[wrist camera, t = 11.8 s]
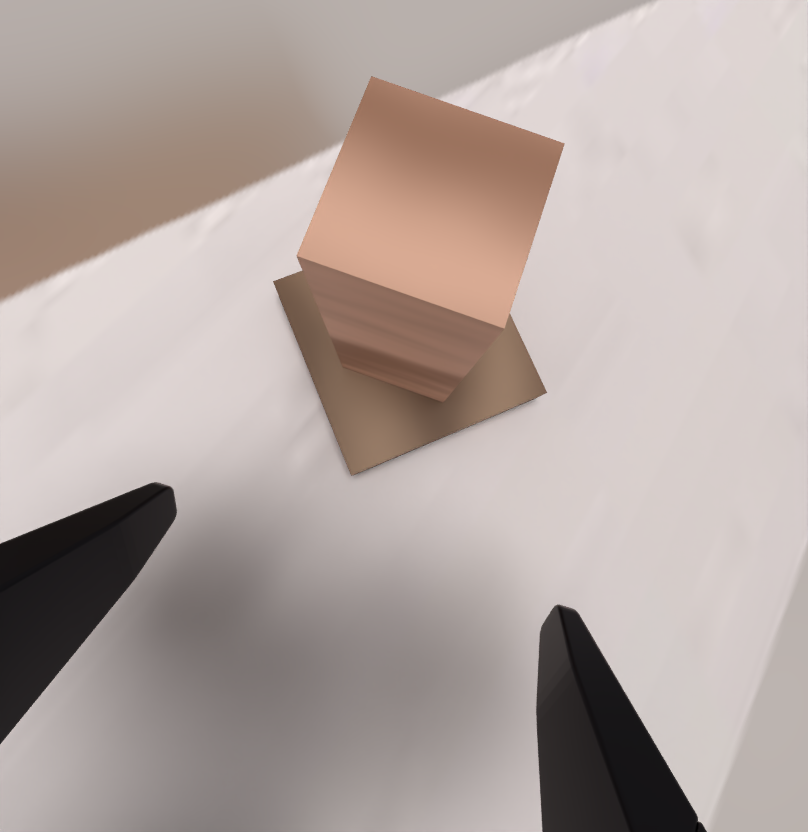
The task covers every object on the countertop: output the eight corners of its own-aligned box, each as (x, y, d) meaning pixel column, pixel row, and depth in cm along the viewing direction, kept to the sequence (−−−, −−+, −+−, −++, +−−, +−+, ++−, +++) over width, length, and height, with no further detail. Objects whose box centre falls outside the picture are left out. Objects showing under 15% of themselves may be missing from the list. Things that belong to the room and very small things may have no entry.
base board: (353, 475, 20) (351, 475, 19) (281, 294, 21) (272, 281, 20) (535, 398, 21) (546, 392, 19) (456, 229, 22) (462, 211, 21)
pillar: (443, 402, 19) (504, 328, 9) (342, 367, 19) (296, 256, 9) (475, 307, 20) (564, 143, 10) (378, 273, 20) (371, 76, 10)
